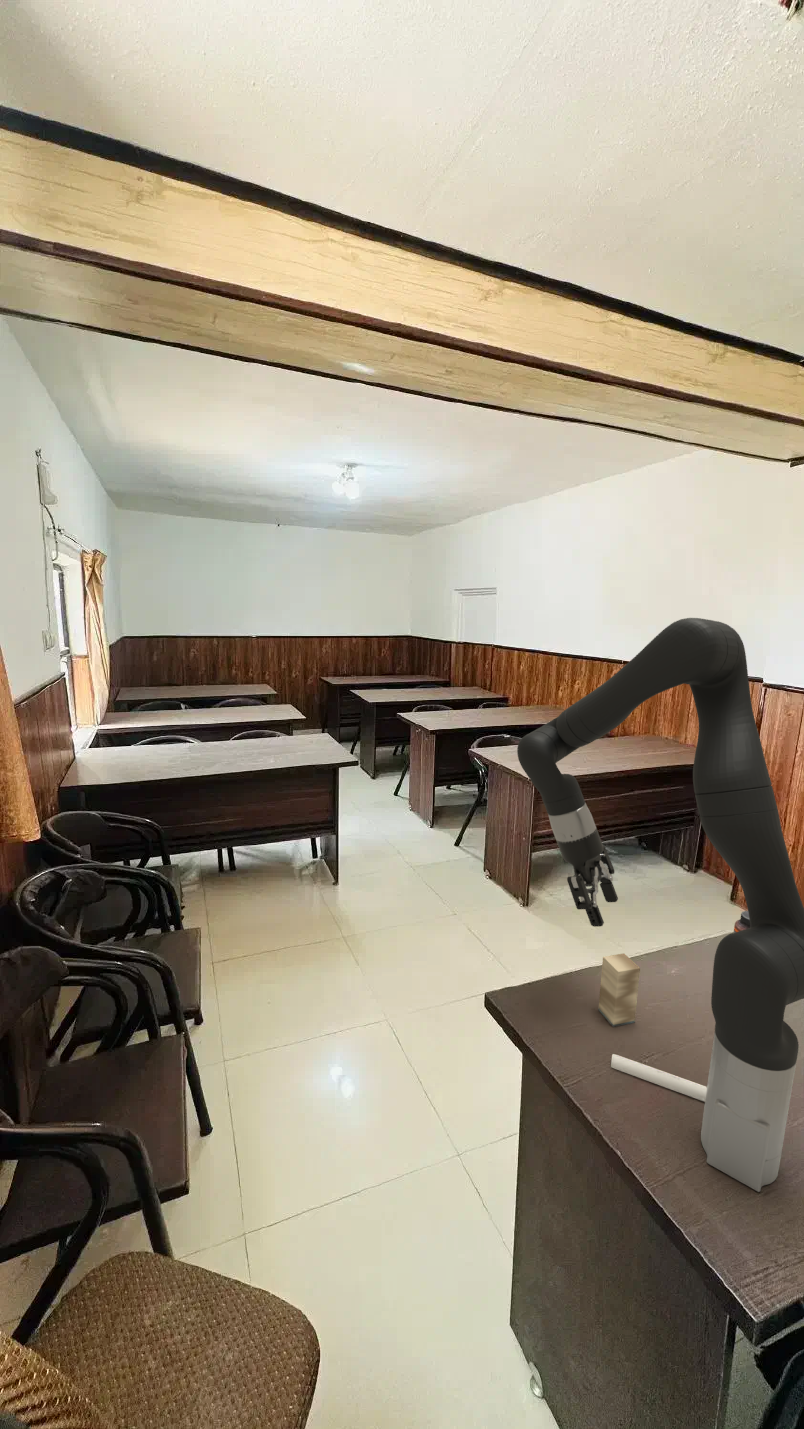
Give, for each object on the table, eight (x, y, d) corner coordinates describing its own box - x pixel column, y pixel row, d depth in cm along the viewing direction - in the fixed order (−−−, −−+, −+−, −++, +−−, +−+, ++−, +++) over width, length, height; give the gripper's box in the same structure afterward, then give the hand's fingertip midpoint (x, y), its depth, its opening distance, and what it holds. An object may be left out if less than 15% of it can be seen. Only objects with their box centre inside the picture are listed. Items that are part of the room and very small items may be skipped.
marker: (737, 1106, 84) (739, 1093, 84) (738, 1117, 82) (740, 1104, 82) (612, 1061, 92) (613, 1049, 92) (610, 1070, 90) (611, 1057, 90)
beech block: (613, 1026, 100) (618, 971, 98) (598, 1009, 104) (602, 956, 102) (634, 1022, 101) (640, 968, 99) (619, 1005, 105) (624, 953, 103)
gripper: (580, 845, 93) (613, 934, 94) (606, 813, 104) (636, 892, 105) (541, 850, 98) (573, 934, 99) (570, 818, 109) (598, 894, 110)
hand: (605, 912), depth 102 cm, fingers open, 8 cm apart
